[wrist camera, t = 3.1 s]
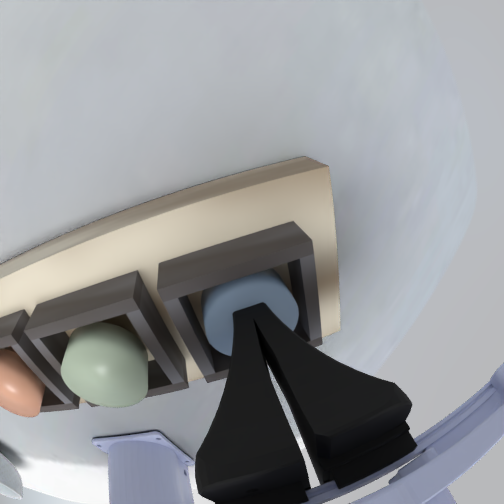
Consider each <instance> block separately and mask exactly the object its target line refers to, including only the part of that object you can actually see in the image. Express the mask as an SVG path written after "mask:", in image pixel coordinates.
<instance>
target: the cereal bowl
mask: <svg viewBox="0 0 504 504" xmlns="http://www.w3.org/2000/svg"><path fill="white" fill-rule="evenodd" d="M0 494H2V495H4V496H7V497H10V498H14V499H22V495H23V487H22V481H21V477H20V475H19V473H18V471H17V469H16V468H15V466H14V465H13V464H12V463H11V462H10V461H9V460H8V459H7V458H6V457H5V456H4V455H3V454H1V452H0Z"/></svg>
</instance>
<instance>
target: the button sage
mask: <svg viewBox="0 0 504 504" xmlns="http://www.w3.org/2000/svg"><path fill="white" fill-rule="evenodd" d="M61 376H62V378H63V380H64V382H65V384H66V385H67V386H68V388H69V389H70V390H71V391H72V392H74V393H75V394H76V395H78V396H79V397H81V398H82V399H84V400H86V401H88V402H91V403H94V404H96V405H100V406H105V407H113V408H120V407H128V406H132V405H135V404H137V403H139V402H140V401H142V400H143V399H144V398H145V396H146V394H147V392H148V353H147V350H146V348H145V346H144V344H143V343H142V342H141V340H140V339H139V338H138V337H136V336H135V335H134V334H133V333H131V332H130V331H128V330H126V329H124V328H122V327H120V326H117V325H114V324H110V323H103V322H95V323H92V324H89V325H85V326H82V327H78V328H76V329H75V330H74V331H73V332H72V334H71V336H70V338H69V342H68V345H67V348H66V352H65V355H64V358H63V362H62V366H61Z"/></svg>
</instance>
